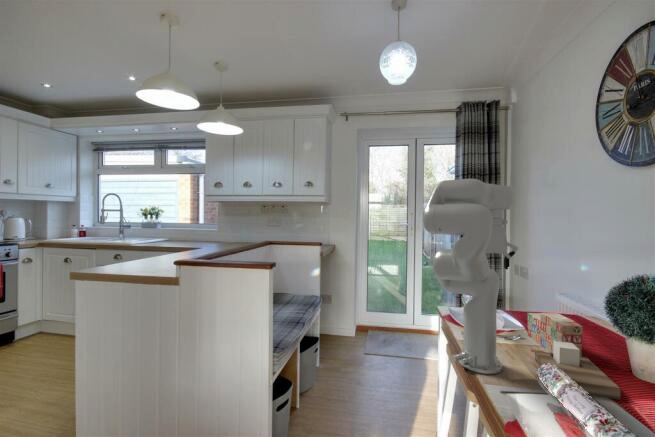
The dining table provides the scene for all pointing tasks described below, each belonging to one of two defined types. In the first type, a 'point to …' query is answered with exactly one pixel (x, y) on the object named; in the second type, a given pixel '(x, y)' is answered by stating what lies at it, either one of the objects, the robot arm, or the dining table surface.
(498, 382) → the dining table surface
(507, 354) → the dining table surface
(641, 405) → the dining table surface
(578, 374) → the walnut puzzle board
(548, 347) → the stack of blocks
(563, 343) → the cream block
